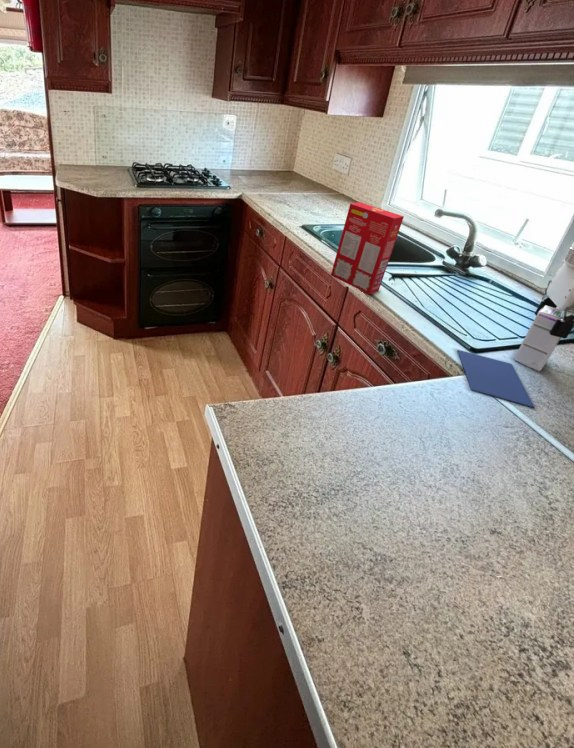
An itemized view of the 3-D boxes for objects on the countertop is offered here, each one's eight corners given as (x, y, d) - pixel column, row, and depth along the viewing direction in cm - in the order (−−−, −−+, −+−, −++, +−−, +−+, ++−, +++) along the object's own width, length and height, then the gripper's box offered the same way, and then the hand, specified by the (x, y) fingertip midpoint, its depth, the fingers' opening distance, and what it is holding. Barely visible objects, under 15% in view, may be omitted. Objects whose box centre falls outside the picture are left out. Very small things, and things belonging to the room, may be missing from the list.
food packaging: (378, 290, 129) (403, 216, 118) (369, 294, 126) (394, 218, 115) (339, 272, 139) (359, 202, 128) (330, 275, 136) (350, 203, 125)
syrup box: (540, 372, 98) (570, 322, 91) (512, 359, 102) (539, 310, 95) (545, 364, 101) (575, 315, 95) (518, 351, 105) (545, 303, 99)
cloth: (511, 364, 99) (511, 363, 99) (534, 408, 86) (534, 407, 86) (457, 350, 103) (457, 349, 103) (471, 390, 89) (471, 389, 89)
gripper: (630, 280, 81) (584, 350, 88) (589, 251, 95) (553, 313, 103) (585, 271, 83) (544, 340, 90) (552, 244, 97) (519, 305, 105)
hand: (549, 325), depth 97 cm, fingers open, 9 cm apart
